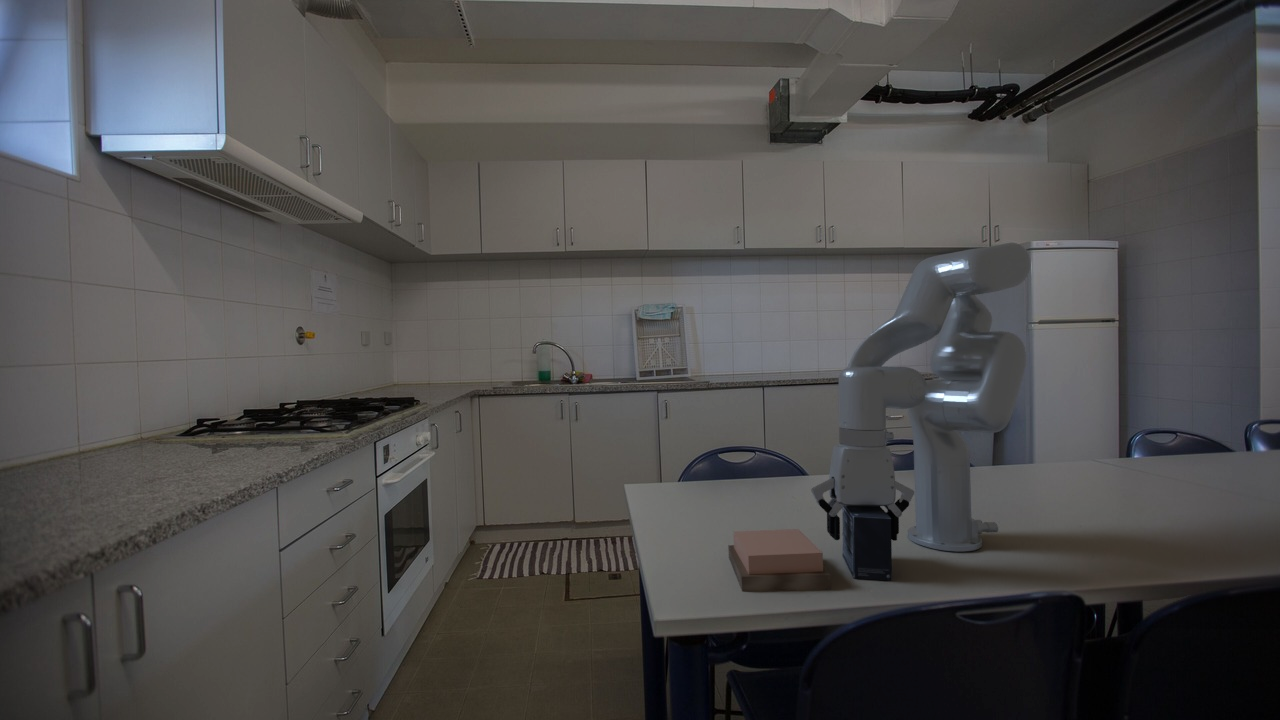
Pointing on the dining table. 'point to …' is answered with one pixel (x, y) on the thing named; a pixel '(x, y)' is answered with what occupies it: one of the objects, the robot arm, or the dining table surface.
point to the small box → (867, 542)
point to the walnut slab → (777, 578)
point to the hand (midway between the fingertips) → (862, 537)
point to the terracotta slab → (777, 552)
